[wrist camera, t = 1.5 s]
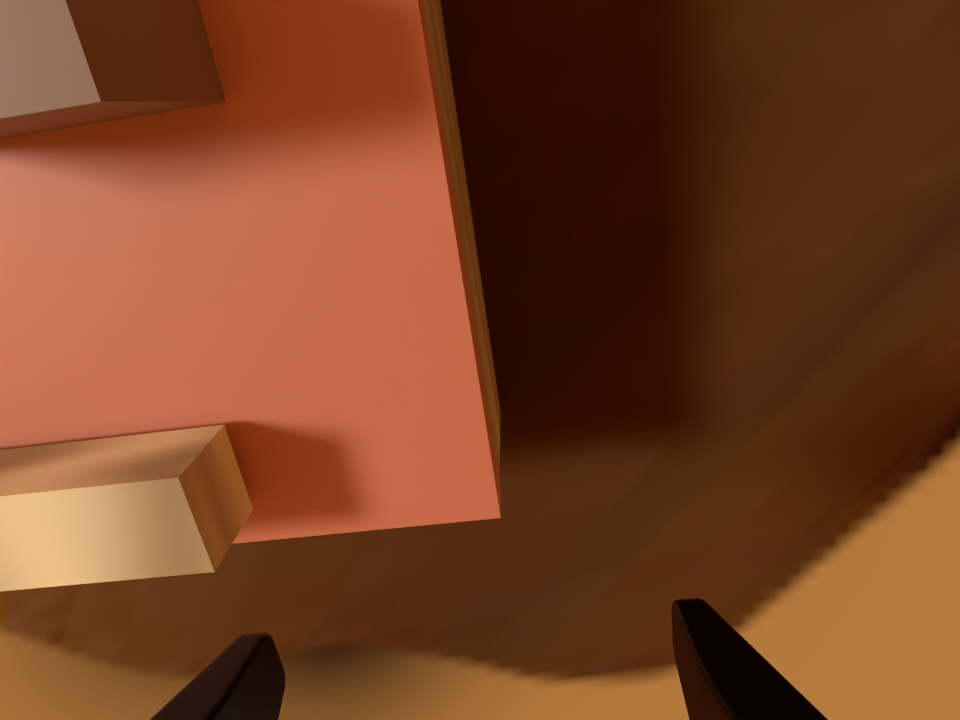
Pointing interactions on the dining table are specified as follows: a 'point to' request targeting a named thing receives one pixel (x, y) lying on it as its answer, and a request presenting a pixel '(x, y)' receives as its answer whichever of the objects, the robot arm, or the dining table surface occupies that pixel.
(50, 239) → the lid
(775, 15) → the dining table surface
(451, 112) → the toolbox
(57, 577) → the tan wooden bar
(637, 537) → the dining table surface
